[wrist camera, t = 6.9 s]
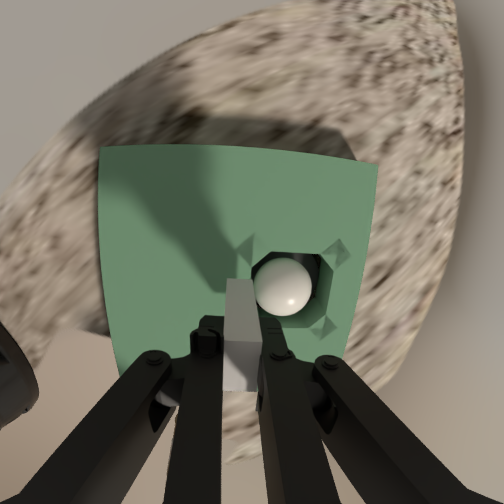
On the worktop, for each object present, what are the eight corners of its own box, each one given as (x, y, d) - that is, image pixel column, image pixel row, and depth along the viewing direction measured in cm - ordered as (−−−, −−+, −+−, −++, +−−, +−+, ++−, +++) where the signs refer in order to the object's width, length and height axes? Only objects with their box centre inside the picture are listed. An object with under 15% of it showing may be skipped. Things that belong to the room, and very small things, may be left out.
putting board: (130, 358, 23) (120, 378, 20) (117, 149, 18) (100, 146, 15) (323, 367, 24) (332, 388, 21) (359, 165, 19) (378, 164, 16)
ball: (303, 302, 21) (252, 298, 22) (311, 253, 20) (256, 248, 21) (310, 328, 18) (249, 324, 18) (320, 271, 17) (253, 265, 17)
